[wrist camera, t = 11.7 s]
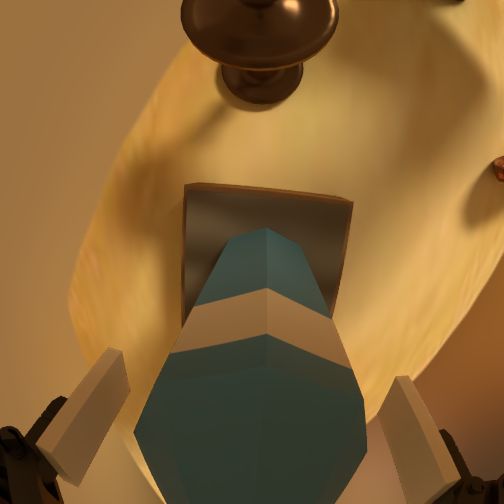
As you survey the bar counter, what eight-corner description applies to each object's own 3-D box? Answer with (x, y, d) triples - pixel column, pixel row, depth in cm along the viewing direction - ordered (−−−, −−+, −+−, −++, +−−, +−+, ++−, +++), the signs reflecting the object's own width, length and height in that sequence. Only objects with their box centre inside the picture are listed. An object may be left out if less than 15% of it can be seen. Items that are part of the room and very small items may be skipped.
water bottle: (302, 321, 29) (344, 579, 5) (211, 312, 29) (125, 562, 5) (316, 232, 26) (490, 503, 2) (215, 222, 26) (7, 475, 2)
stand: (198, 182, 31) (183, 184, 25) (339, 196, 31) (355, 202, 25) (193, 310, 36) (180, 335, 30) (317, 323, 35) (325, 349, 29)
